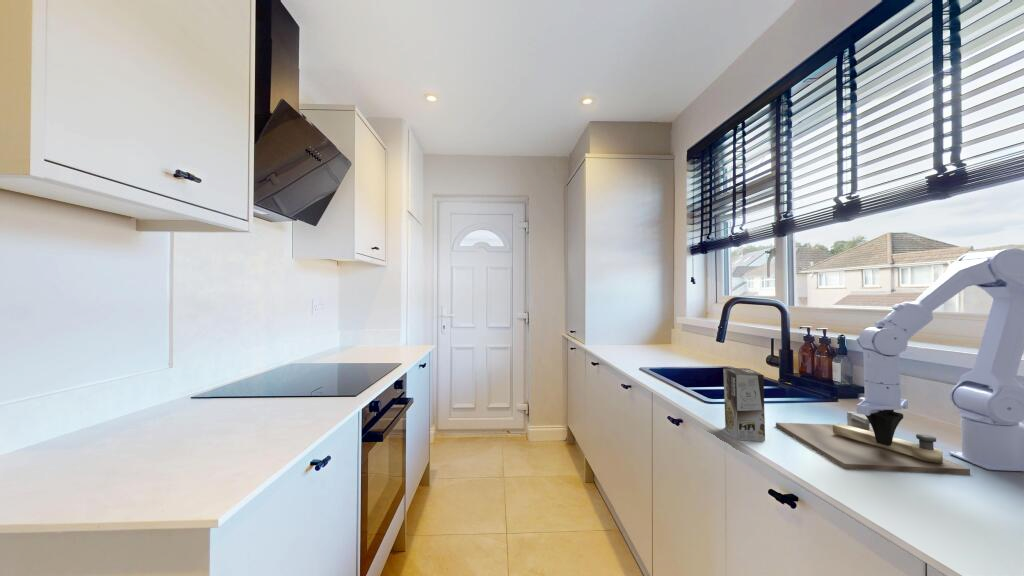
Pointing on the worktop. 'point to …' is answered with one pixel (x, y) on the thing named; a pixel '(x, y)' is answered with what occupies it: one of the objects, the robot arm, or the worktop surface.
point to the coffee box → (744, 404)
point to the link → (895, 443)
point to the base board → (862, 449)
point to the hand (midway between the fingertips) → (883, 444)
